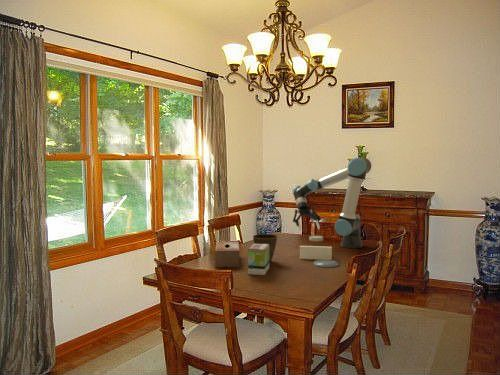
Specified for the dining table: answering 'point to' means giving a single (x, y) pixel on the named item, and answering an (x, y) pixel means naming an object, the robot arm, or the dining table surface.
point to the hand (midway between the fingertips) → (309, 229)
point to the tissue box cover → (227, 254)
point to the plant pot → (266, 242)
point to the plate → (326, 263)
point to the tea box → (258, 259)
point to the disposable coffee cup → (316, 240)
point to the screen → (316, 252)
